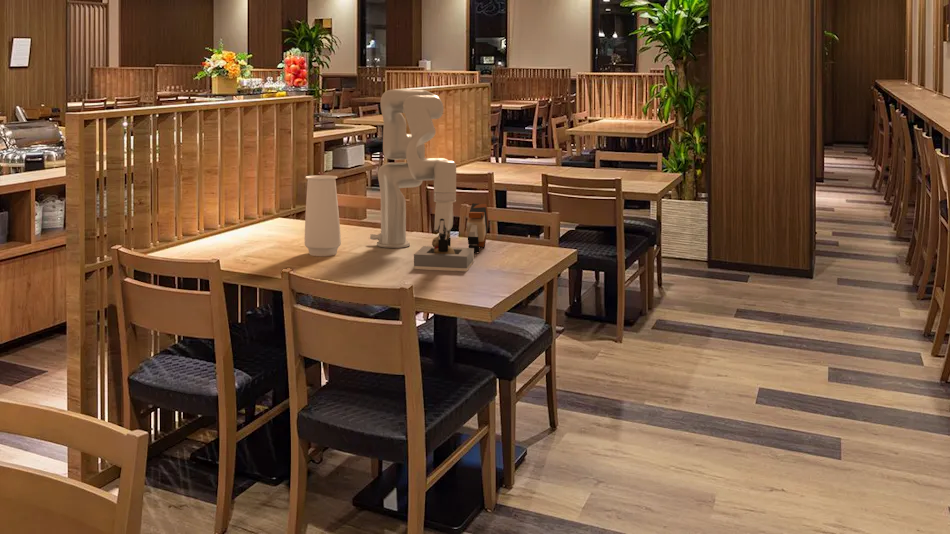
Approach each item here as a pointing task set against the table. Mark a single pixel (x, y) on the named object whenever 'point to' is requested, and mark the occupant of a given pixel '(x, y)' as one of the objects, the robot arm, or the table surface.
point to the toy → (477, 226)
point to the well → (444, 259)
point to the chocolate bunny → (435, 245)
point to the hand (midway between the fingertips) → (444, 249)
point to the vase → (322, 216)
